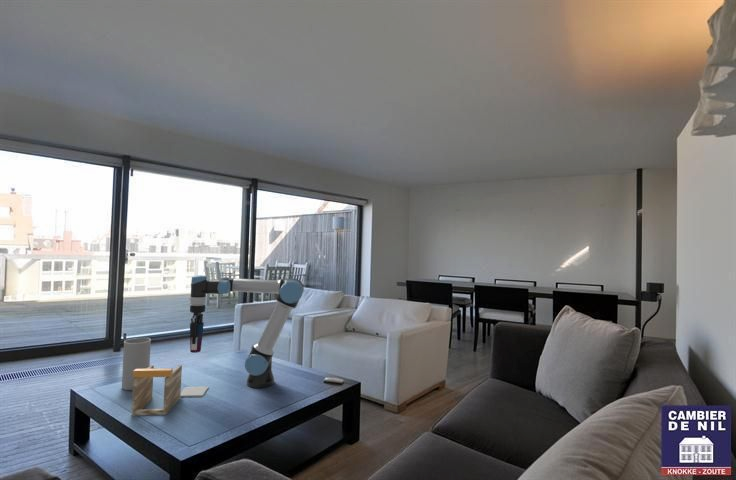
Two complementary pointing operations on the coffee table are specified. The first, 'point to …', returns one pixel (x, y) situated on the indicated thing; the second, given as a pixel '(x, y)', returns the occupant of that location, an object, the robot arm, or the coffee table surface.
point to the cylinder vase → (134, 359)
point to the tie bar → (153, 372)
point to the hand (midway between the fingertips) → (195, 347)
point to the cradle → (144, 393)
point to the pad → (193, 391)
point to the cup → (199, 337)
